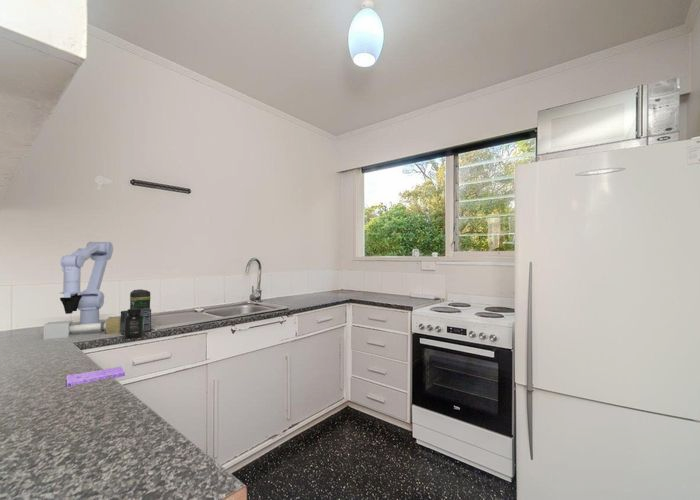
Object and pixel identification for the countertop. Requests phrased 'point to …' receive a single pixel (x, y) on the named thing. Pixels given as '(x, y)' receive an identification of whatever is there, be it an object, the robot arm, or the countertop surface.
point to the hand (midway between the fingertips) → (71, 312)
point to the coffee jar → (140, 299)
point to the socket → (113, 325)
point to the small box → (147, 320)
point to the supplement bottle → (134, 324)
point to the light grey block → (57, 330)
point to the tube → (87, 327)
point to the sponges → (94, 376)
